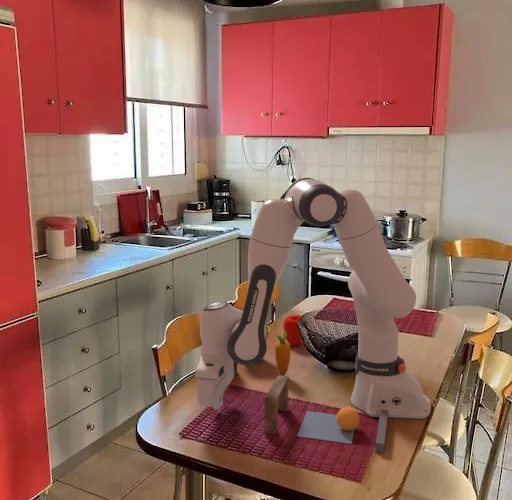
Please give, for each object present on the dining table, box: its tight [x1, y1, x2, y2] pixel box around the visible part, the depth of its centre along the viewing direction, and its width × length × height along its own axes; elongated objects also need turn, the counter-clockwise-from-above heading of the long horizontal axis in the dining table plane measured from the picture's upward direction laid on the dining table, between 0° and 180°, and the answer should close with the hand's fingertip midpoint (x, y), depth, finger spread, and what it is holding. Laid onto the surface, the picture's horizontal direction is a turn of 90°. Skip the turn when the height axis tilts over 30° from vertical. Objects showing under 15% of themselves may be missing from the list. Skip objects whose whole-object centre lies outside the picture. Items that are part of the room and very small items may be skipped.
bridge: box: [263, 374, 290, 436], centre depth 157 cm, size 3×15×10 cm, turn 164°
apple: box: [282, 314, 303, 347], centre depth 212 cm, size 9×9×11 cm
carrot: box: [274, 330, 291, 376], centre depth 184 cm, size 5×5×15 cm
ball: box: [336, 406, 361, 431], centre depth 152 cm, size 6×6×6 cm
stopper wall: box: [374, 409, 389, 454], centre depth 150 cm, size 2×18×2 cm, turn 164°
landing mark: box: [296, 410, 356, 445], centre depth 154 cm, size 14×14×1 cm
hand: (217, 406), depth 162 cm, fingers closed
